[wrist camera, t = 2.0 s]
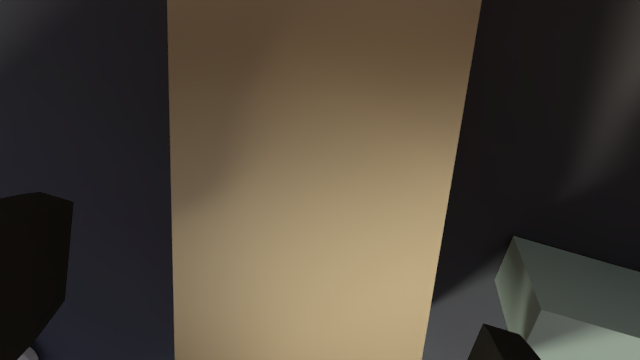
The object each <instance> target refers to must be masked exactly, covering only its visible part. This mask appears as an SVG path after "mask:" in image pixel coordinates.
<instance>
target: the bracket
mask: <svg viewBox="0 0 640 360" xmlns="http://www.w3.org/2000/svg"><path fill="white" fill-rule="evenodd" d="M495 283H496V287H497V291H498V294H499V298H500V302H501V306H502V309H503V313H504V317H505V320H506V324H507V328H508V331H510V332H514V333H517V334H520V335H521V336H522V338H523V339H524V340H525V341H526V342H527V343H528V344H529V345H530V347H531V348H532V349H533V350H534V351H535V353H536V354H537V355H538V356H539V358H540V359H541V360H640V272H638V271H634V270H631V269H627V268H624V267H620V266H617V265H613V264H610V263H606V262H603V261H599V260H596V259H592V258H589V257H585V256H582V255H578V254H575V253H571V252H568V251H564V250H561V249H557V248H554V247H550V246H547V245H544V244H540V243H537V242H533V241H530V240H526V239H523V238H519V237H516V236H513V238H512V240H511V243H510V245H509V247H508V250H507V252H506V254H505V257H504V259H503V261H502V264H501V266H500V268H499V271H498V273H497V276H496V278H495Z"/></svg>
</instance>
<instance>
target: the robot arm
mask: <svg viewBox="0 0 640 360" xmlns="http://www.w3.org/2000/svg"><path fill="white" fill-rule="evenodd" d="M72 212H73V202H72V201H69V200H65V199H62V198H58V197H55V196H52V195H48V194H45V193H42V192H37V193H29V194H22V195H17V196H11V197H6V198H1V199H0V360H38V356H37V354H36V353H35V351H34V350H33V349H32V348H31V347H30V346H31V344H32V343H33V342H34V341H35V339H36V338H37V337H38V335H39V334H40V333H41V332H42V330H43V329H44V328H45V326H46V325H47V324H48V322H49V321H50V320H51V318H52V317H53V316H54V314H55V313H56V311H57V310H58V309H59V307H60V306H61V305H62V303H63V302H64V300H65V292H66V280H67V269H68V258H69V246H70V235H71V224H72ZM468 360H541V359H540V358H539V356H538V355H537V354H536V353H535V351H534V350H533V349H532V348H531V347H530V345H529V344H528V343H527V342H526V341H525V340H524V339H523V338H522V336H521V335H520V334H517V333H514V332H510V331H507V330H503V329H500V328H497V327H493V326H490V325H487V324H483V325H482V327H481V330H480V332H479V334H478V337H477V339H476V341H475V344H474V346H473V348H472V351H471V353H470V355H469V357H468Z"/></svg>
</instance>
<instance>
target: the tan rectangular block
mask: <svg viewBox="0 0 640 360" xmlns="http://www.w3.org/2000/svg"><path fill="white" fill-rule="evenodd" d="M481 2H482V0H167V24H168V70H169V117H170V163H171V209H172V256H173V302H174V348H175V360H422V355H423V349H424V343H425V337H426V331H427V325H428V319H429V313H430V307H431V301H432V295H433V289H434V283H435V277H436V271H437V265H438V259H439V253H440V247H441V241H442V235H443V229H444V223H445V217H446V211H447V205H448V199H449V193H450V187H451V181H452V175H453V169H454V163H455V157H456V151H457V145H458V139H459V133H460V128H461V122H462V116H463V110H464V104H465V98H466V92H467V86H468V80H469V74H470V68H471V62H472V56H473V50H474V44H475V38H476V32H477V26H478V20H479V14H480V8H481Z"/></svg>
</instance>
